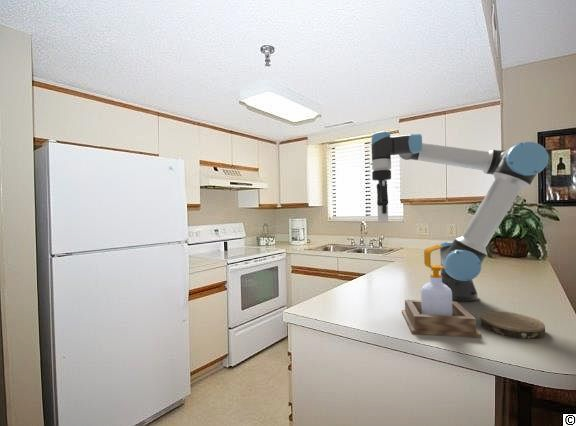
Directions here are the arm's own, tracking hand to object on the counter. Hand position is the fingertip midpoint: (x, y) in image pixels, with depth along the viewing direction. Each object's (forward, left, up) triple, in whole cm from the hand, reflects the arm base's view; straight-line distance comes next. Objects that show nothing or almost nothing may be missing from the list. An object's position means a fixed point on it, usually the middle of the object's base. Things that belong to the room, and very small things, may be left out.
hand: (382, 221), depth 126 cm
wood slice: (-35, +26, -33) cm, 55 cm away
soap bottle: (-14, +25, -32) cm, 43 cm away
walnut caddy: (-14, +25, -33) cm, 43 cm away
